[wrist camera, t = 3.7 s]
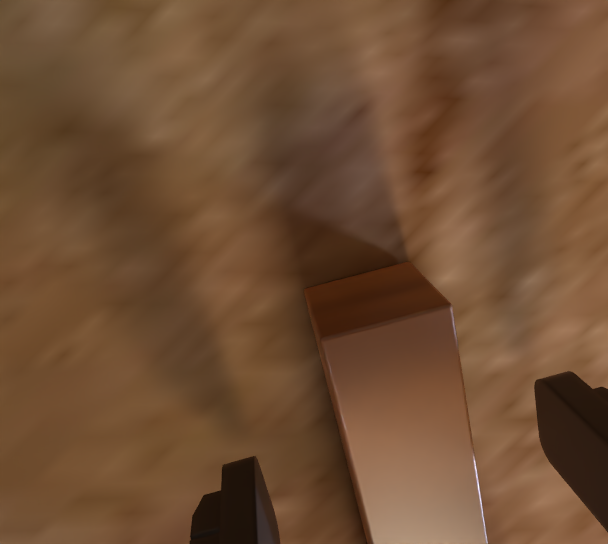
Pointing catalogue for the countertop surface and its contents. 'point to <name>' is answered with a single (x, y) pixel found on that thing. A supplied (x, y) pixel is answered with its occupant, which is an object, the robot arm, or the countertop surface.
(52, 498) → the countertop surface
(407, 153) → the countertop surface
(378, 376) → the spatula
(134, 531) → the countertop surface
